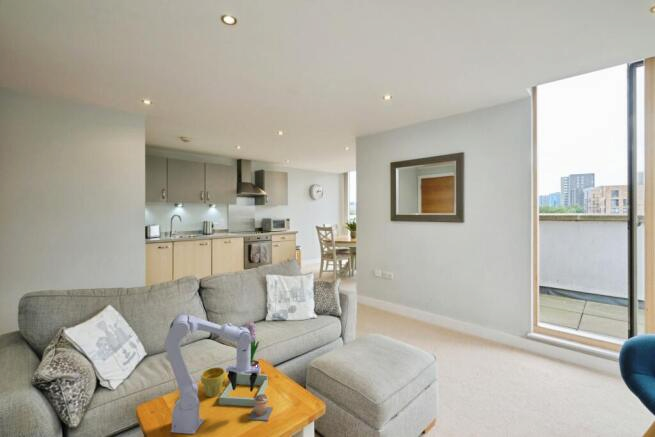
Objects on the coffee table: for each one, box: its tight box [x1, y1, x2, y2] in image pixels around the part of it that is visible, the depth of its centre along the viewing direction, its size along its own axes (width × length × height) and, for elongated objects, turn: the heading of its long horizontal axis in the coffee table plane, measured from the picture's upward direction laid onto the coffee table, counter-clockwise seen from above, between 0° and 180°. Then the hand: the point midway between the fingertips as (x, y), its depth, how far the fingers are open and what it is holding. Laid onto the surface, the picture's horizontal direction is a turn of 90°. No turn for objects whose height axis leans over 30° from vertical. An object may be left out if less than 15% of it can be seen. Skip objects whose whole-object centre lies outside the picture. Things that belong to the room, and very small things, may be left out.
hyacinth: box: [244, 320, 260, 374], centre depth 154 cm, size 9×10×30 cm
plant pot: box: [200, 366, 226, 398], centre depth 140 cm, size 10×10×10 cm
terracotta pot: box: [253, 393, 269, 416], centre depth 126 cm, size 6×6×6 cm
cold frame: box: [218, 373, 269, 407], centre depth 139 cm, size 17×17×5 cm
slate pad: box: [248, 406, 274, 422], centre depth 125 cm, size 8×8×1 cm
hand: (243, 389), depth 126 cm, fingers open, 7 cm apart
